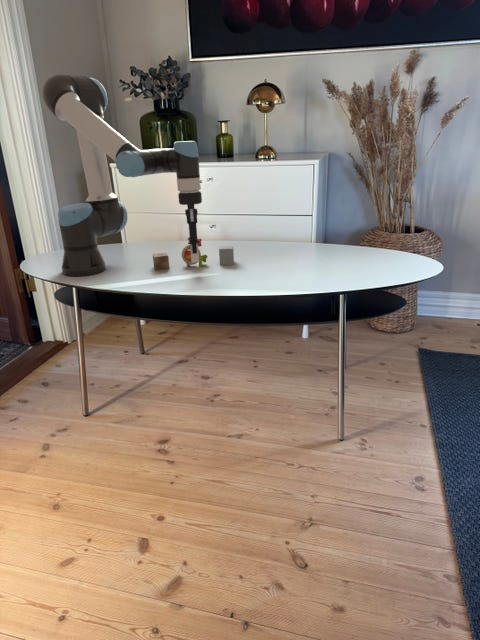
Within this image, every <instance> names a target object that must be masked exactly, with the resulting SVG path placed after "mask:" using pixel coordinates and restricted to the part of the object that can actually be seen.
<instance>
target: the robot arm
mask: <svg viewBox="0 0 480 640" xmlns="http://www.w3.org/2000/svg"><path fill="white" fill-rule="evenodd" d="M41 92H42V99H43V102H44V104H45V106H46V108H47V109H48V110H49V112H50V113H52V115H53V116H55V117H56V118H57V119H58V120H60V121H62V122H67V123H68V124H70V125H71V127H73V128H75V129H76V135H77V141H78V144H79V145H78V147H79V150H80V157H81V162H82V165H83V171H84V176H85V181H86V186H87V192H88V197H86V199H85V202H77V203H74V204H73V203H71V204H68V205H65V206H63V207H61V208H60V209H59V210H58V213H57V214H58V216H57V217H58V226H59V229H60V235H61V241H62V246H63V256H62V264H61V271H62V274H63V275H64V276H69V277H83V276H90V275H91V276H92V275H96V274H98V273H102V272H105V271H106V269H107V268H106V262H105V259H104V258H103V256H102V254H101V252H100V250H99V247H98V240H97V239H99V238H102V237H106V236H109V235H110V236H111V235H115V234H117V233H119V232H120V233H121V232H122V231H123V230H124V228H125V227H126V225H127V223H128V212H127V208H126V206H125V205H124V203H122V202H121V201H119V197H118V195H116V194H115V193H114V192H113V188H112V181H111V175H110V170H109V164H108V160H107V159H108V158H107V157H109V158H111V159H112V160H113V161H114V162H115V167H116V169H117V171H118V173H119V174H120V175H121V176H122V177H125V178H138V177H144V176H148V175H149V176H150V175H156V174H157V175H158V174H166V173H176V174H175V175H176V184H177V191H178V204H179V205H182V206H186V207H187V209H184V213H185V216H186V223H187V224H188V231H189V232H188V233H189V237H188V238H189V239H190V242H189V241H187V244H188V245H190V251H191V262H192V263H195V262H198V263H199V251H198V249H199V246H198V242H199V240H197V239H198V231H197V230H198V229H197V223H198V208H195V205H199V204H201V203H202V202H203V199H202V198H203V197H202V192H201V191H200V190H201V189H202V188H201V187H202V186H201V184H202V183H203V180H202V179H201V173H200V159H199V158H200V155H199V149H198V143H197V142H196V141H195V140H186V141H183V140H182V141H175V142H173V148H151V149H139V148H138V147H136V146H135V145H134V144H132V143H131V142H130V141H129V140H127V139H126V137H124V136H123V135H121V133H119V132H118V131H116V129H114V128H113V127H112V126H110V125H109V124H108V123H107V122H106V121H104V118H105V117H104V112H105V111H106V110H107V106H108V102H109V101H108V100H109V99H108V98H109V97H108V95H107V91H106V89H105V87H104V85H103V84H102V83H101V82H100V81H99V80H98V79H96V78H93V77H89V76H81V75H71V74H69V75H68V74H63V73H62V74H60V73H59V74H54V75H52V76H50V77H48V79H46V81H45V82H44V84H43V86H42V91H41Z"/></svg>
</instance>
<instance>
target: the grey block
mask: <svg viewBox="0 0 480 640" xmlns="http://www.w3.org/2000/svg"><path fill="white" fill-rule="evenodd" d="M218 255H219V266H232V265H234V264H235V259H234V258H235V257H234V256H235V255H234V245H220V246H219V248H218Z"/></svg>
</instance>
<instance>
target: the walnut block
mask: <svg viewBox="0 0 480 640" xmlns="http://www.w3.org/2000/svg"><path fill="white" fill-rule="evenodd" d="M152 260H153V261H152V262H153V269H154V270H155V271H164V270H170V258H169V254H168V252H161V253H152Z"/></svg>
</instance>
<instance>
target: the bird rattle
mask: <svg viewBox="0 0 480 640" xmlns="http://www.w3.org/2000/svg"><path fill="white" fill-rule="evenodd" d="M197 240H199V242H198V251H199V262H195V263H192V262H191V251H190V244H188V245H186V246H185V247H183V248H182V251H181V258H182V261H183V262H184V263H185V265H186V266H187V267H189V266H193V265H196V264H197V263H198V267H199V268H201V267H202V265H203V263H207V259H208V255H207V254H201V251H200V248H199V247H202V238H197ZM187 242H190V239H189V237H187Z"/></svg>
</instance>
